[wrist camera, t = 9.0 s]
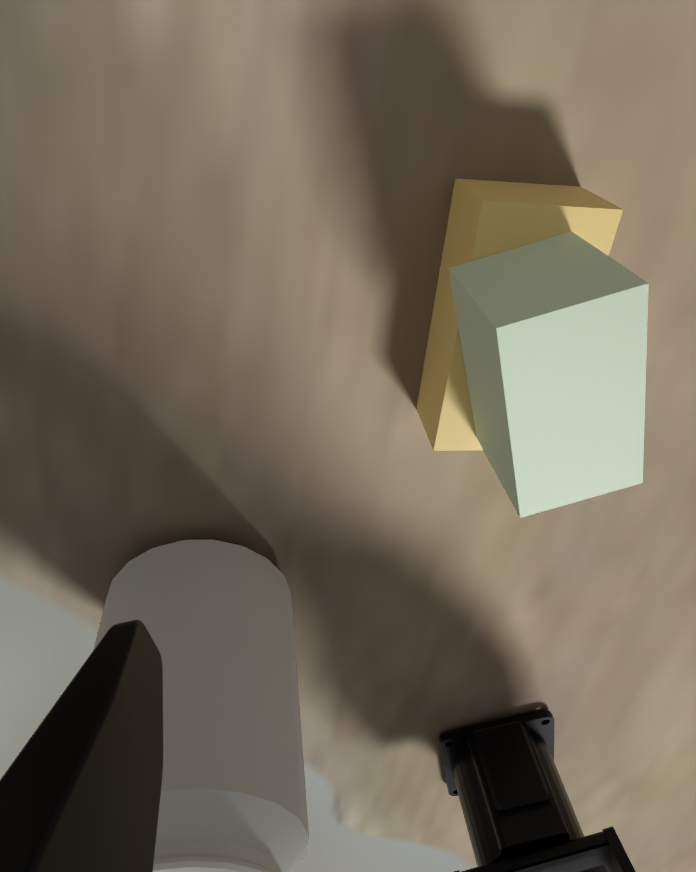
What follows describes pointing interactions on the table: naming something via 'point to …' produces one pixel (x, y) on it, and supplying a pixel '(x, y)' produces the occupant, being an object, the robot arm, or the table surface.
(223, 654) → the can
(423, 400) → the ochre brick
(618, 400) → the sage brick
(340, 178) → the table surface
